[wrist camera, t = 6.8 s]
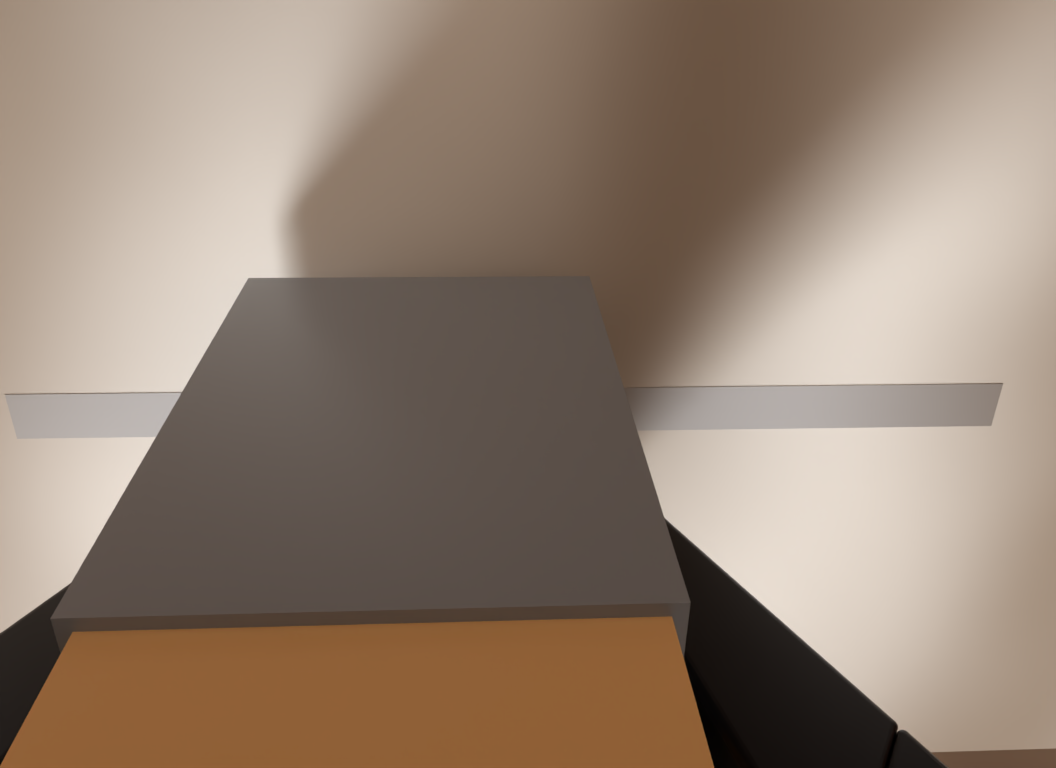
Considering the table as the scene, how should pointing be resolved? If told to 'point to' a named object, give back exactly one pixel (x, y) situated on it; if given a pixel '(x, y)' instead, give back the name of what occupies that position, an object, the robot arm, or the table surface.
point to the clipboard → (595, 276)
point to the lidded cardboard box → (383, 550)
